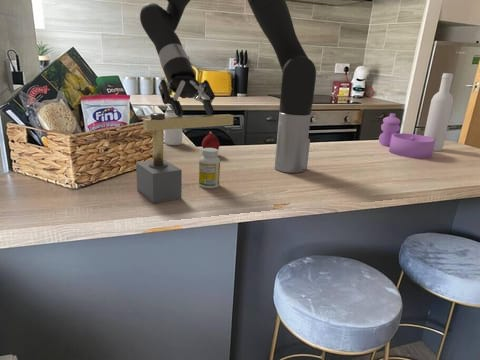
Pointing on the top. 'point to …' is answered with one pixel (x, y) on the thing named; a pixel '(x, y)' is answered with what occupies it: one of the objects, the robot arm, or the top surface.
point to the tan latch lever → (161, 123)
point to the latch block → (159, 181)
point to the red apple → (210, 141)
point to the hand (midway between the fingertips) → (196, 115)
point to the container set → (404, 140)
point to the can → (172, 132)
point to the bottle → (440, 113)
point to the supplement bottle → (209, 168)
